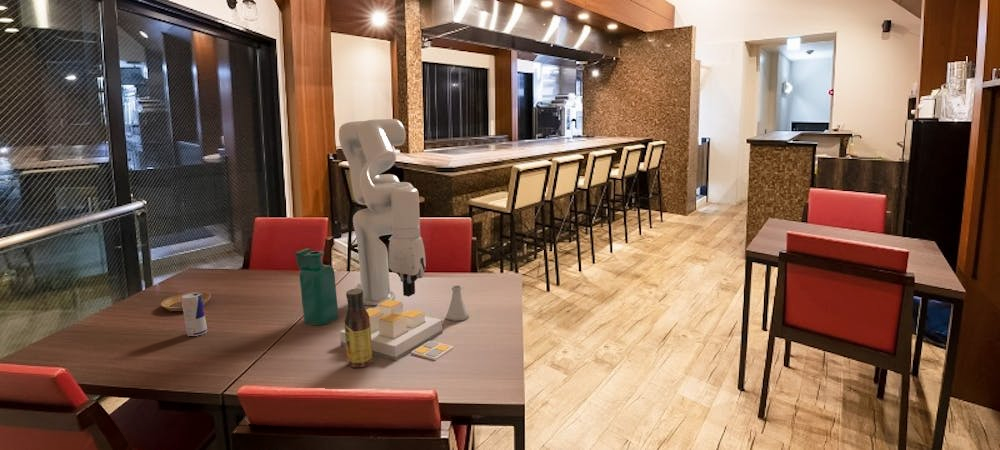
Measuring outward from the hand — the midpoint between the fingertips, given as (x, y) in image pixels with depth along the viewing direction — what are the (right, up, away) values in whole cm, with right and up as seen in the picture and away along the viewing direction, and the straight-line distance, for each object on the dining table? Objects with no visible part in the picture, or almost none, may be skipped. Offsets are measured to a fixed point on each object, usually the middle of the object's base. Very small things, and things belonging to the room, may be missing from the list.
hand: (409, 294), depth 156 cm
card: (+8, -14, -8) cm, 18 cm away
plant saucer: (-80, -8, +30) cm, 86 cm away
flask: (+12, -9, +15) cm, 22 cm away
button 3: (-3, -10, -6) cm, 12 cm away
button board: (-5, -13, +1) cm, 14 cm away
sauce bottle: (-10, -16, -14) cm, 24 cm away
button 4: (+1, -10, +1) cm, 10 cm away
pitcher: (-31, -10, +16) cm, 36 cm away
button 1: (-10, -9, -2) cm, 14 cm away
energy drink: (-64, -13, +7) cm, 66 cm away
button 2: (-6, -8, +5) cm, 11 cm away
